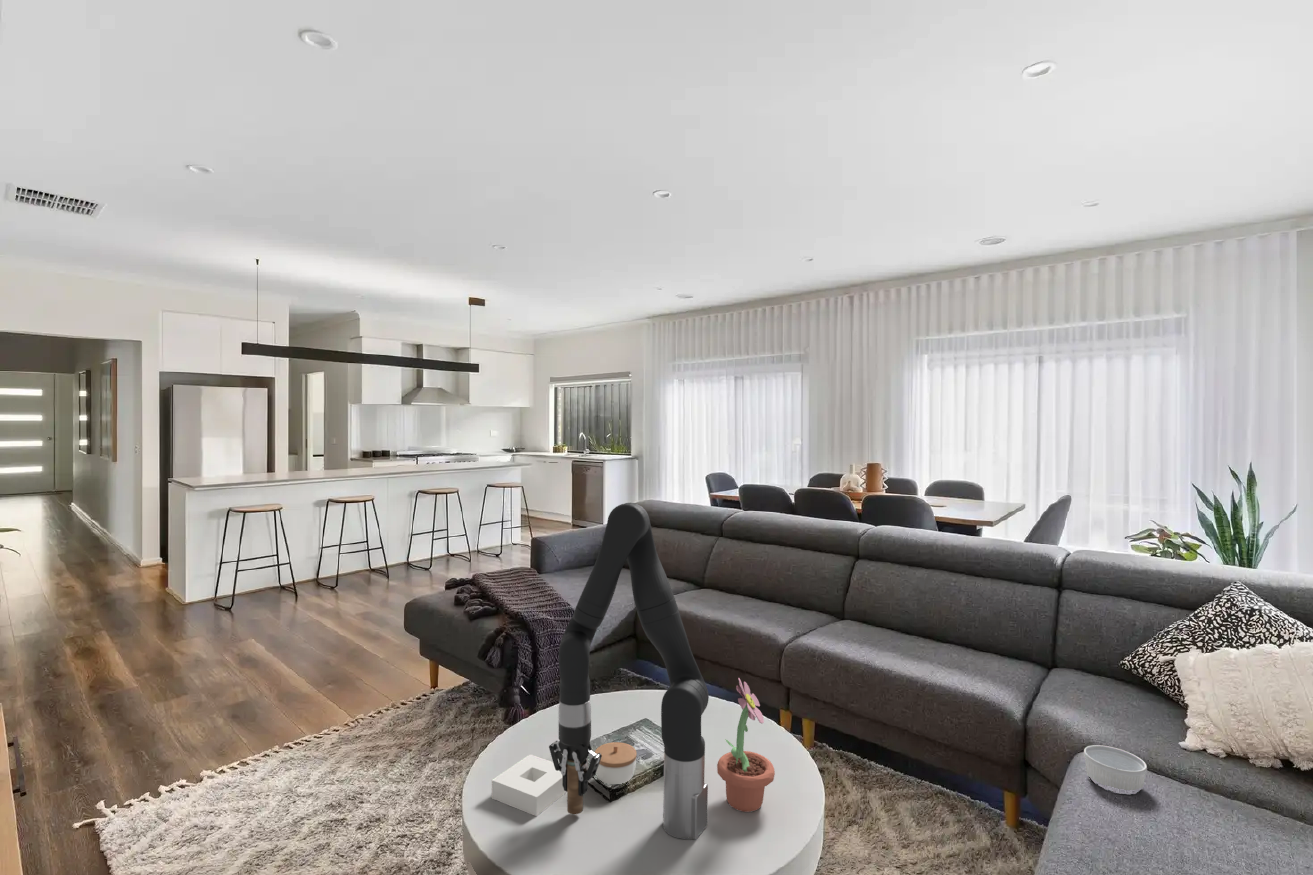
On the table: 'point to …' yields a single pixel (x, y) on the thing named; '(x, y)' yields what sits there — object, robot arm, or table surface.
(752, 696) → the decorative flower
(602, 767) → the lidded jar
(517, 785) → the socket block
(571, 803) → the walnut dowel
